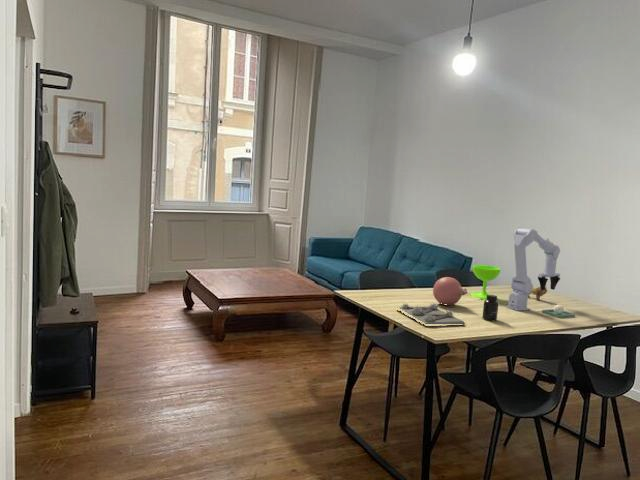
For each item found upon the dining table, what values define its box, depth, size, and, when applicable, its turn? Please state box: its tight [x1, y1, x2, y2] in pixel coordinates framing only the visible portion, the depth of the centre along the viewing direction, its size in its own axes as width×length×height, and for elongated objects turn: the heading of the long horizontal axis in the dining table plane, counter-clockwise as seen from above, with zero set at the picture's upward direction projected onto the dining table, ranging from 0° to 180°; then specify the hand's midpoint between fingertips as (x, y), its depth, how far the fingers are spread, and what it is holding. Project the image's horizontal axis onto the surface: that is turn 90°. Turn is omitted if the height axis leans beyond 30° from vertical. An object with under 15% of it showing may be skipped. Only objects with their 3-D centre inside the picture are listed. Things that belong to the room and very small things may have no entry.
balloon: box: [432, 276, 468, 306], centre depth 269 cm, size 15×20×15 cm
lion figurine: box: [528, 286, 548, 301], centre depth 300 cm, size 15×5×9 cm, turn 34°
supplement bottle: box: [482, 294, 499, 322], centre depth 245 cm, size 7×7×12 cm
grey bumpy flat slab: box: [398, 302, 466, 325], centre depth 242 cm, size 30×22×7 cm
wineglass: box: [470, 264, 502, 301], centre depth 296 cm, size 16×16×18 cm
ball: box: [553, 304, 565, 314], centre depth 264 cm, size 5×5×5 cm
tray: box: [541, 308, 576, 319], centre depth 264 cm, size 11×11×1 cm
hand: (547, 289), depth 282 cm, fingers open, 7 cm apart
